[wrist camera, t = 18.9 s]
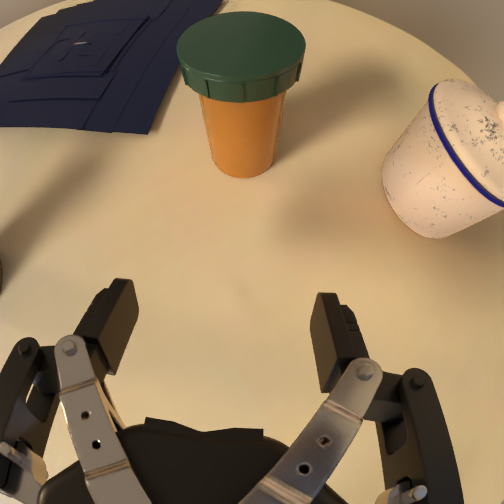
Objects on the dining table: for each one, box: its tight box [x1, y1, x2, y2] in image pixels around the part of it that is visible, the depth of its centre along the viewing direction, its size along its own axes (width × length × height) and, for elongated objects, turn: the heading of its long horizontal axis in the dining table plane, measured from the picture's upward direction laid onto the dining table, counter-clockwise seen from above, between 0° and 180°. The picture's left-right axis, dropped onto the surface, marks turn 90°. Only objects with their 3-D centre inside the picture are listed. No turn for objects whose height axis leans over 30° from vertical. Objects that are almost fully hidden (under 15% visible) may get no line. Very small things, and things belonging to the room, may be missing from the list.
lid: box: [176, 11, 306, 103], centre depth 11 cm, size 6×6×2 cm
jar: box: [198, 91, 286, 178], centre depth 16 cm, size 5×5×10 cm
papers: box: [0, 0, 223, 135], centre depth 22 cm, size 24×30×4 cm
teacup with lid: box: [382, 79, 504, 239], centre depth 15 cm, size 12×9×12 cm
